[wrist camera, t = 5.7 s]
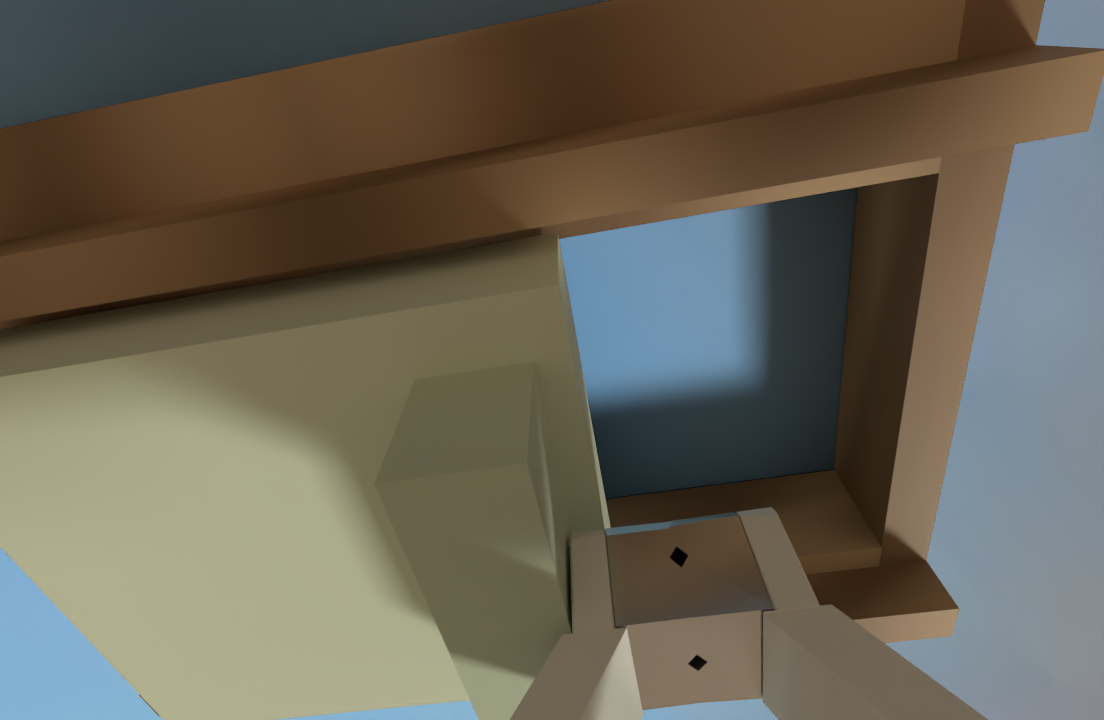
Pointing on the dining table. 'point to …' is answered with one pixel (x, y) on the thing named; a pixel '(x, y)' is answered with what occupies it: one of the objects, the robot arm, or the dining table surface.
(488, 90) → the board
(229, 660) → the cover
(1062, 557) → the dining table surface
